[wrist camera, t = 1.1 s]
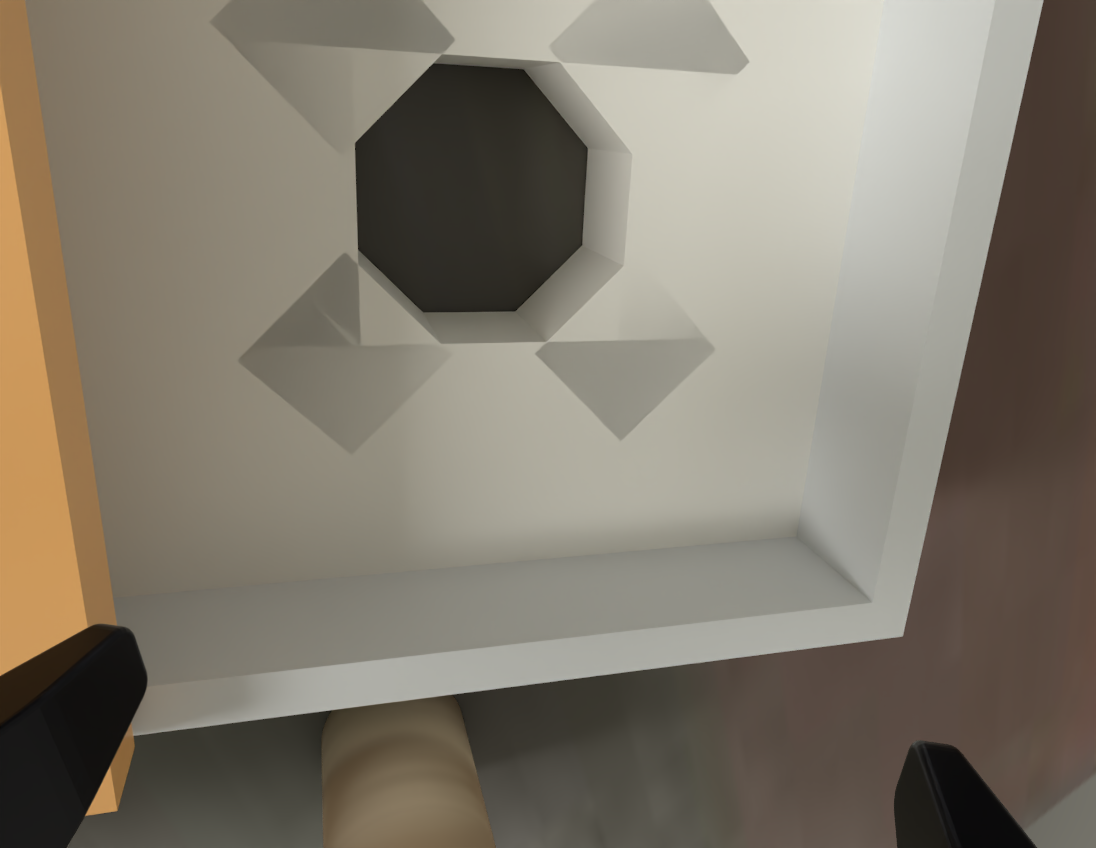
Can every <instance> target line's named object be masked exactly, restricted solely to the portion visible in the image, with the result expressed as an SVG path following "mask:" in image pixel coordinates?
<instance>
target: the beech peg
mask: <svg viewBox="0 0 1096 848" xmlns="http://www.w3.org/2000/svg"><path fill="white" fill-rule="evenodd" d="M321 748H322V797H323V847H324V848H496V846H495V842H494V838H493V834H492V831H491V827H490V823H489V819H488V815H487V811H486V807H485V803H484V799H483V795H482V791H481V787H480V783H479V779H478V775H477V771H476V768H475V764H474V760H473V756H472V752H471V748H470V744H469V740H468V736H467V732H466V728H465V724H464V720H463V716H462V712H461V709H460V707H459V704H458V703H457V701H456V699H455V698H454V697H453V696H452V695H445V696H437V697H430V698H422V699H414V700H406V701H399V702H391V703H383V704H375V705H368V706H360V707H352V708H344V709H337V710H332V711H331V713H330V714H329V716H328V718H327V720H326V722H325V725H324V728H323V732H322V742H321Z"/></svg>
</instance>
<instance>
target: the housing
mask: <svg viewBox="0 0 1096 848" xmlns="http://www.w3.org/2000/svg"><path fill="white" fill-rule="evenodd" d="M25 3H26V10H27V17H28V24H29V31H30V37H31V44H32V51H33V58H34V65H35V71H36V78H37V85H38V92H39V99H40V105H41V112H42V119H43V126H44V133H45V139H46V146H47V153H48V160H49V166H50V173H51V180H52V187H53V194H54V200H55V207H56V214H57V221H58V228H59V234H60V241H61V248H62V255H63V262H64V268H65V275H66V282H67V289H68V296H69V302H70V309H71V316H72V323H73V329H74V336H75V343H76V350H77V357H78V363H79V370H80V377H81V384H82V391H83V397H84V404H85V411H86V418H87V425H88V431H89V438H90V445H91V452H92V459H93V465H94V472H95V479H96V486H97V492H98V499H99V506H100V513H101V520H102V526H103V533H104V540H105V547H106V554H107V560H108V567H109V574H110V581H111V588H112V594H113V601H114V608H115V615H116V622H117V626H123V627H127V628H129V629H130V630H131V631H132V632H133V633H134V635H135V638H136V641H137V644H138V647H139V650H140V653H141V656H142V659H143V662H144V665H145V668H146V670H147V675H148V683H147V689H146V692H145V695H144V697H143V699H142V701H141V703H140V706H139V708H138V710H137V712H136V714H135V716H134V718H133V720H132V722H131V723H132V730H133V736H135V735H143V734H151V733H159V732H166V731H174V730H182V729H190V728H197V727H205V726H213V725H221V724H228V723H236V722H244V721H252V720H259V719H267V718H275V717H283V716H290V715H298V714H306V713H314V712H321V711H329V710H337V709H344V708H352V707H360V706H368V705H375V704H383V703H391V702H399V701H406V700H414V699H422V698H430V697H437V696H445V695H453V694H461V693H468V692H476V691H484V690H492V689H499V688H507V687H515V686H523V685H530V684H538V683H546V682H554V681H561V680H569V679H577V678H585V677H592V676H600V675H608V674H615V673H623V672H631V671H639V670H646V669H654V668H662V667H670V666H677V665H685V664H693V663H701V662H708V661H716V660H724V659H732V658H739V657H747V656H755V655H763V654H770V653H778V652H786V651H794V650H801V649H809V648H817V647H825V646H832V645H840V644H848V643H855V642H863V641H871V640H879V639H886V638H894V637H902V636H903V633H904V628H905V624H906V619H907V615H908V610H909V606H910V601H911V597H912V592H913V588H914V583H915V579H916V574H917V570H918V565H919V561H920V556H921V552H922V547H923V543H924V538H925V534H926V529H927V524H928V520H929V515H930V511H931V506H932V502H933V497H934V493H935V488H936V484H937V479H938V475H939V470H940V466H941V461H942V457H943V452H944V448H945V443H946V439H947V434H948V430H949V425H950V421H951V416H952V411H953V407H954V402H955V398H956V393H957V389H958V384H959V380H960V375H961V371H962V366H963V362H964V357H965V353H966V348H967V344H968V339H969V335H970V330H971V326H972V321H973V317H974V312H975V308H976V303H977V298H978V294H979V289H980V285H981V280H982V276H983V271H984V267H985V262H986V258H987V253H988V249H989V244H990V240H991V235H992V231H993V226H994V222H995V217H996V213H997V208H998V204H999V199H1000V195H1001V190H1002V185H1003V181H1004V176H1005V172H1006V167H1007V163H1008V158H1009V154H1010V149H1011V145H1012V140H1013V136H1014V131H1015V127H1016V122H1017V118H1018V113H1019V109H1020V104H1021V100H1022V95H1023V91H1024V86H1025V82H1026V77H1027V73H1028V68H1029V63H1030V59H1031V54H1032V50H1033V45H1034V41H1035V36H1036V32H1037V27H1038V23H1039V18H1040V14H1041V9H1042V5H1043V0H25ZM433 63H436V64H451V65H466V66H482V67H497V68H512V69H524V71H525V72H526V73H527V74H528V75H529V77H530V78H531V79H532V80H533V82H534V83H535V84H536V85H537V87H538V88H539V89H540V90H541V91H542V93H543V94H544V95H545V96H546V98H547V99H548V100H549V101H550V102H551V104H552V105H553V106H554V107H555V109H556V110H557V111H558V112H559V114H560V115H561V116H562V117H563V118H564V120H565V121H566V122H567V123H568V125H569V126H570V127H571V128H572V129H573V131H574V132H575V133H576V134H577V136H578V137H579V138H580V139H581V140H582V142H583V143H584V144H585V145H586V147H587V148H588V155H587V172H586V189H585V206H584V222H583V239H582V246H581V247H580V248H579V249H578V250H577V251H576V252H575V253H574V254H573V255H572V256H571V257H570V258H569V259H568V260H567V261H566V262H565V263H564V264H563V265H562V266H561V267H560V268H559V269H558V270H557V271H556V272H555V273H554V274H553V275H552V276H551V277H550V278H549V279H548V280H547V281H546V282H545V283H544V284H543V285H542V286H541V287H540V288H539V289H538V290H537V291H535V292H534V293H533V294H532V295H531V296H530V297H529V298H528V299H527V300H526V301H525V302H524V303H523V304H522V305H521V306H520V307H519V308H518V309H517V310H516V311H515V312H424V313H423V312H422V311H421V310H420V309H419V308H418V307H417V306H416V305H415V304H414V303H413V302H412V301H411V300H410V299H409V298H408V297H407V296H405V295H404V294H403V293H402V292H401V291H400V290H399V289H398V288H397V287H396V286H395V285H394V284H393V283H392V282H391V281H390V280H389V279H388V278H387V277H386V276H385V275H384V274H383V273H382V272H381V271H380V270H379V269H378V268H377V267H376V266H374V265H373V264H372V263H371V262H370V261H369V260H368V259H367V258H366V257H365V256H364V255H363V254H362V253H361V252H360V251H359V250H358V235H357V201H356V167H355V142H356V141H357V140H358V139H359V138H360V137H361V136H362V135H363V134H364V133H365V132H366V131H367V130H368V129H369V128H370V127H371V126H372V125H373V124H374V123H375V122H376V121H377V120H378V119H379V118H380V117H381V116H382V115H383V114H384V113H385V112H386V111H387V110H388V109H389V108H390V107H391V106H392V105H393V104H394V103H395V102H396V100H397V99H398V98H399V97H400V96H401V95H402V94H403V93H404V92H405V91H406V90H407V89H408V88H409V87H410V86H411V85H412V84H413V83H414V82H415V81H416V80H417V79H418V78H419V77H420V76H421V75H422V74H423V73H424V72H425V71H426V70H427V69H428V68H429V67H430V66H431V65H432V64H433Z"/></svg>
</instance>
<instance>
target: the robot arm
mask: <svg viewBox="0 0 1096 848" xmlns="http://www.w3.org/2000/svg"><path fill="white" fill-rule="evenodd" d="M147 683H148V675H147V670H146V668H145V665H144V662H143V659H142V656H141V653H140V650H139V647H138V644H137V641H136V638H135V635H134V633H133V632H132V631H131V630H130V629H129V628H127V627H123V626H116V625H109V624H95V625H92V626H90V627H88V628H86V629H84V630H82V631H80V632H78V633H77V634H75V635H73V636H71V637H69V638H68V639H66V640H64V641H62V642H60V643H59V644H57V645H55V646H53V647H51V648H49V649H48V650H46V651H44V652H42V653H40V654H39V655H37V656H35V657H33V658H31V659H30V660H28V661H26V662H24V663H22V664H20V665H19V666H17V667H15V668H13V669H11V670H10V671H8V672H6V673H4V674H2V675H1V676H0V848H66V847H67V846H68V844H69V842H70V841H71V839H72V837H73V836H74V834H75V832H76V831H77V829H78V827H79V825H80V824H81V822H82V820H83V818H84V817H85V815H86V813H87V811H88V809H89V808H90V806H91V804H92V802H93V800H94V798H95V796H96V794H97V792H98V790H99V788H100V786H101V784H102V782H103V780H104V778H105V776H106V774H107V772H108V769H109V767H110V765H111V763H112V761H113V759H114V757H115V755H116V753H117V751H118V749H119V747H120V745H121V743H122V741H123V739H124V736H125V734H126V732H127V730H128V728H129V726H130V724H131V722H132V720H133V718H134V716H135V714H136V712H137V710H138V708H139V706H140V703H141V701H142V699H143V697H144V695H145V692H146V689H147ZM894 815H895V826H896V838H897V848H1037V847H1036V846H1035V844H1034V843H1033V842H1032V841H1031V839H1030V838H1029V837H1028V836H1027V834H1026V833H1025V832H1024V831H1023V829H1022V828H1021V827H1020V826H1019V824H1018V823H1017V822H1016V821H1015V819H1014V818H1013V817H1012V815H1011V814H1010V813H1009V812H1008V810H1007V809H1006V808H1005V807H1004V805H1003V804H1002V803H1001V802H1000V800H999V799H998V798H997V797H996V795H995V794H994V793H993V792H992V790H991V789H990V788H989V787H988V785H987V784H986V783H985V782H984V780H983V779H982V778H981V777H980V775H979V774H978V773H977V772H976V770H975V769H974V768H973V767H972V765H971V764H970V763H969V762H968V760H967V759H966V758H965V757H964V755H963V754H962V753H961V752H960V751H959V750H958V749H957V748H955V747H954V746H952V745H948V744H941V743H934V742H927V741H915V742H914V743H913V744H912V745H911V747H910V749H909V751H908V754H907V757H906V760H905V763H904V766H903V769H902V772H901V775H900V778H899V781H898V784H897V787H896V791H895V798H894Z"/></svg>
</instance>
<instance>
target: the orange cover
mask: <svg viewBox="0 0 1096 848" xmlns="http://www.w3.org/2000/svg"><path fill="white" fill-rule="evenodd" d="M95 624H109V625H116V626H117V622H116V615H115V608H114V601H113V594H112V588H111V581H110V574H109V567H108V560H107V554H106V547H105V540H104V533H103V526H102V520H101V513H100V506H99V499H98V492H97V486H96V479H95V472H94V465H93V459H92V452H91V445H90V438H89V431H88V425H87V418H86V411H85V404H84V397H83V391H82V384H81V377H80V370H79V363H78V357H77V350H76V343H75V336H74V329H73V323H72V316H71V309H70V302H69V296H68V289H67V282H66V275H65V268H64V262H63V255H62V248H61V241H60V234H59V228H58V221H57V214H56V207H55V200H54V194H53V187H52V180H51V173H50V166H49V160H48V153H47V146H46V139H45V133H44V126H43V119H42V112H41V105H40V99H39V92H38V85H37V78H36V71H35V65H34V58H33V51H32V44H31V37H30V31H29V24H28V17H27V10H26V3H25V0H0V676H1V675H2V674H4V673H6V672H8V671H10V670H11V669H13V668H15V667H17V666H19V665H20V664H22V663H24V662H26V661H28V660H30V659H31V658H33V657H35V656H37V655H39V654H40V653H42V652H44V651H46V650H48V649H49V648H51V647H53V646H55V645H57V644H59V643H60V642H62V641H64V640H66V639H68V638H69V637H71V636H73V635H75V634H77V633H78V632H80V631H82V630H84V629H86V628H88V627H90V626H92V625H95ZM134 748H135V744H134V737H133V730H132V723H131V724H130V726H129V728H128V730H127V732H126V734H125V736H124V739H123V741H122V743H121V745H120V747H119V749H118V751H117V753H116V755H115V757H114V759H113V761H112V763H111V765H110V767H109V769H108V772H107V774H106V776H105V778H104V780H103V782H102V784H101V786H100V788H99V790H98V792H97V794H96V796H95V798H94V800H93V802H92V804H91V806H90V808H89V809H88V811H87V813H86V815H85V816H88V815H95V814H101V813H108V812H115V811H118V807H119V803H120V800H121V796H122V792H123V789H124V785H125V781H126V778H127V774H128V770H129V767H130V763H131V759H132V756H133V752H134Z"/></svg>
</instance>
